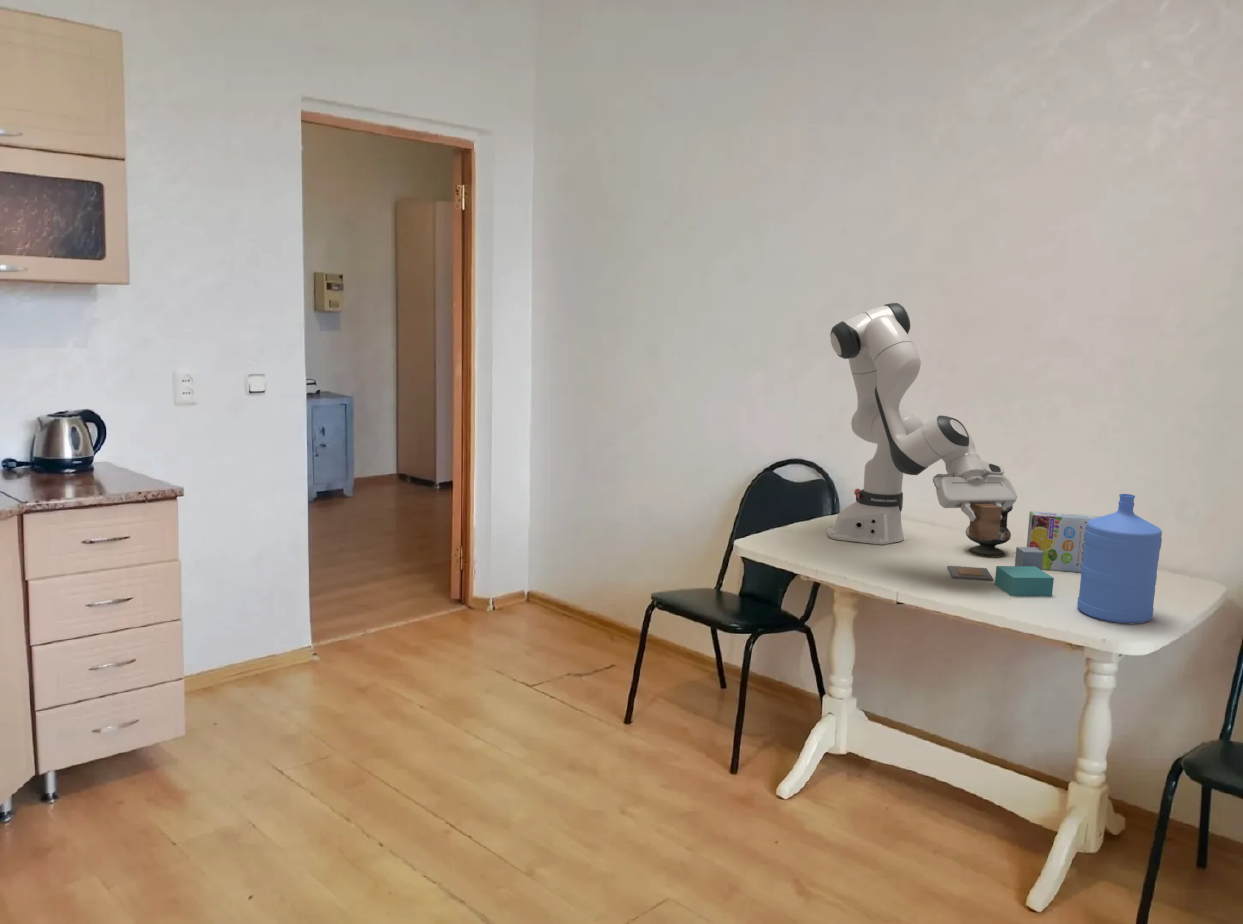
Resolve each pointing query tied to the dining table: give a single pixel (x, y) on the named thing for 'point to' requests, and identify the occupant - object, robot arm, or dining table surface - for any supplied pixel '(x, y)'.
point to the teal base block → (1024, 581)
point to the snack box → (1059, 539)
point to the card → (970, 573)
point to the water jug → (1120, 566)
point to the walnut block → (986, 521)
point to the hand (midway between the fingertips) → (986, 520)
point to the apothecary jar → (988, 545)
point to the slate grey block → (1029, 557)
